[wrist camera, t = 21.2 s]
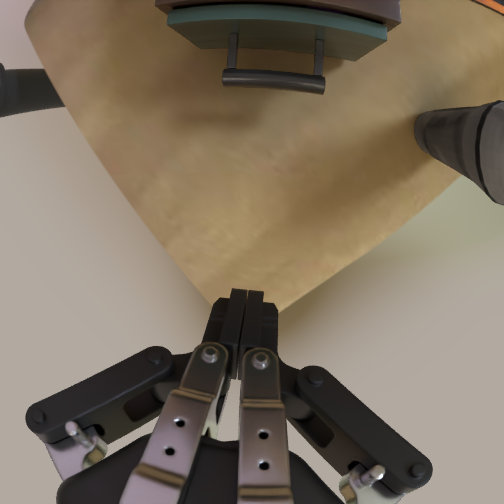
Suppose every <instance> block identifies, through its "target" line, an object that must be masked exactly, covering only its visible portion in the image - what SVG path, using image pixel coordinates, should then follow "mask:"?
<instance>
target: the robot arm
mask: <svg viewBox="0 0 504 504" xmlns="http://www.w3.org/2000/svg"><path fill="white" fill-rule="evenodd" d="M247 291H248V290H244V289H235V288H232V291H231V295H230V299H229V298H221V297H220V298H219V299H218V300H217V301H216V302H215V303H214V304H213V307H212V310H211V314H210V317H209V320H208V323H207V327H206V330H205V333H204V336H203V340H202V343H201V344H200V345H198V346H197V347H196V348H195V349H194V351H193V352H190V353H187V354H178V355H172V354H171V352H170V351H169V350H168V349H166V348H164V347H161V346H152V347H149V348H146V349H145V350H142V351H141V352H139V353H137V354H135V355H133V356H131V357H129V358H127V359H125V360H123V361H121V362H119V363H117V364H115V365H113V366H111V367H109V368H107V369H105V370H104V371H101V372H100V373H97V374H95V375H93V376H92V377H89V378H87V379H86V380H83V381H81V382H79V383H77V384H75V385H73V386H71V387H69V388H67V389H65V390H62V391H61V392H58V393H56V394H54V395H52V396H50V397H48V398H45V399H43V400H41V401H39V402H37V403H34V404H33V405H32V406H30V407H29V408H28V410H27V413H26V423H27V426H28V428H29V429H30V430H31V431H32V432H33V433H35V434H36V435H37V436H38V437H39V438H40V439H41V440H42V441H43V442H44V444H45V446H46V448H47V450H48V452H49V454H50V457H51V459H52V461H53V463H54V465H55V467H56V469H57V471H58V473H59V475H60V477H61V479H62V480H63V482H62V484H61V485H60V487H59V488H58V491H57V497H56V503H57V504H344V503H343V502H342V500H341V499H340V498H339V497H338V496H337V495H336V494H335V493H334V492H333V491H332V490H331V489H330V488H329V487H328V486H327V485H326V484H325V483H324V482H323V481H322V480H321V478H320V477H319V476H318V475H317V474H316V473H315V472H314V471H313V470H312V469H311V467H310V466H309V465H308V464H307V463H306V462H305V461H304V460H303V459H302V458H301V457H299V456H298V455H296V454H294V453H293V452H291V451H289V450H288V436H287V422H286V418H287V420H288V421H289V422H290V423H291V424H292V425H293V426H294V428H295V429H296V430H297V431H298V432H299V433H300V434H301V435H302V436H303V437H304V438H305V439H306V440H307V442H308V443H309V444H310V445H311V446H312V447H313V448H314V449H315V450H316V451H317V452H318V453H319V454H320V455H321V456H322V457H323V458H324V459H325V460H326V461H327V462H328V463H329V464H330V465H331V466H332V467H333V468H334V469H335V470H336V471H337V472H338V473H339V474H340V475H341V476H342V478H341V480H340V482H339V490H340V492H341V494H342V495H343V496H344V498H345V500H346V504H397V503H398V502H399V501H400V499H401V498H402V497H403V496H404V495H405V494H407V493H410V492H411V491H413V490H416V489H418V488H420V487H422V486H424V485H425V484H426V483H427V482H428V481H429V480H430V478H431V476H432V471H433V468H432V464H431V462H430V460H429V459H428V458H427V457H426V456H424V455H423V454H422V453H421V452H420V451H418V450H417V449H416V448H415V447H414V446H412V445H411V444H410V443H409V442H408V441H406V440H405V439H404V438H403V437H402V436H400V435H399V434H398V433H397V432H395V430H393V429H392V428H391V427H390V426H389V425H388V424H386V423H385V422H384V421H383V420H382V419H381V418H380V417H378V416H377V415H376V414H375V413H374V412H372V410H370V409H369V408H368V407H367V406H366V405H365V404H364V403H362V402H361V401H360V400H359V399H358V398H357V397H356V396H354V395H353V394H352V393H351V392H350V391H349V390H348V389H347V388H346V387H344V385H342V384H341V383H340V382H339V381H338V380H337V379H336V378H335V377H333V375H331V374H330V373H329V372H328V371H327V370H325V369H324V368H322V367H319V366H307V367H304V368H303V369H301V370H299V369H296V368H293V367H290V366H288V365H286V364H285V363H283V362H282V360H281V359H280V358H279V356H278V352H277V345H278V343H277V342H278V310H277V308H276V306H275V304H274V303H267V302H263V296H264V291H254V290H249V291H248V297H247ZM238 364H239V365H238ZM237 370H238V380H241V389H240V406H239V429H238V440H236V441H225V442H223V441H218V440H217V434H218V428H219V424H220V420H221V416H222V413H223V409H224V406H225V402H226V399H227V395H228V390H229V387H230V381H231V379H236V377H237ZM159 415H160V416H159ZM158 416H159V418H158V421H157V423H156V425H155V427H154V430H153V432H152V433H150V434H147V435H144V436H142V437H140V438H138V439H136V440H135V441H133V442H132V443H130V444H128V445H127V446H125V447H123V448H122V449H120V450H118V451H117V452H115V453H113V454H112V455H110V456H108V457H106V458H105V459H103V458H104V457H105V455H106V453H107V445H108V444H110V443H112V442H114V441H115V440H117V439H119V438H121V437H123V436H125V435H127V434H128V433H130V432H132V431H134V430H135V429H137V428H139V427H141V426H142V425H144V424H146V423H147V422H149V421H151V420H153V419H154V418H156V417H158ZM102 459H103V460H102ZM100 460H101V461H100Z"/></svg>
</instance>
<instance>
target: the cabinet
mask: <svg viewBox="0 0 504 504" xmlns="http://www.w3.org/2000/svg"><path fill="white" fill-rule="evenodd" d="M233 1H258V2H279V3H290V4H300V5H308V6H315V7H321V8H327V9H332V10H338V11H342V12H347V13H351V14H356V15H360V16H363V18H362V19H364V20H368V21H371V22H375V23H378V24H381V25H385V26H387V32H389V31H390V30H392V29H393V28H394V27H396V26H397V25H399V24H400V23H401V13H400V0H156V1H155V6H156V7H158V8H159V9H160V10H161V11H163V12H164V13H165V14H167V15H168V11H169V10H174V9H181V8H189V7H196V6H195V5H194V4H200V3H212V2H233Z"/></svg>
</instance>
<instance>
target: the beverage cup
mask: <svg viewBox="0 0 504 504" xmlns="http://www.w3.org/2000/svg"><path fill="white" fill-rule="evenodd" d="M414 133H415V138H416V141H417V143H418V145H419V146H420V148H421V149H422V150H423V151H425V152H426V153H428V154H430V155H431V156H432V157H434V158H435V159H437V160H439V161H441V162H442V163H444V164H446V165H447V166H449V167H451V168H453V169H454V170H456V171H457V172H459V173H461V174H462V175H464V176H466V177H467V178H469V179H470V180H472V181H473V182H474V183H476V184H477V185H478V186H479V187H480V188H481V189H482V190H483V191H484V192H485V193H486V194H487V195H488V197H490V199H491V200H492V201H494V202H495V203H498V204H501V205H504V101H501V100H498V101H496V102H492V103H488V104H483V105H481V106H477V107H461V108H450V109H440V110H433V111H430V112H425V113H423V114H421V115H420V116H419V117H418V118H417V121H416V123H415V129H414Z"/></svg>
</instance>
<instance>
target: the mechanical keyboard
mask: <svg viewBox="0 0 504 504" xmlns="http://www.w3.org/2000/svg"><path fill="white" fill-rule="evenodd" d="M472 1H475V2H477V3H479V4H482V5H484V6H486V7H488V8H491V9H493V10H495V11H497V12H499V13H501V14H503V15H504V0H472Z"/></svg>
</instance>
